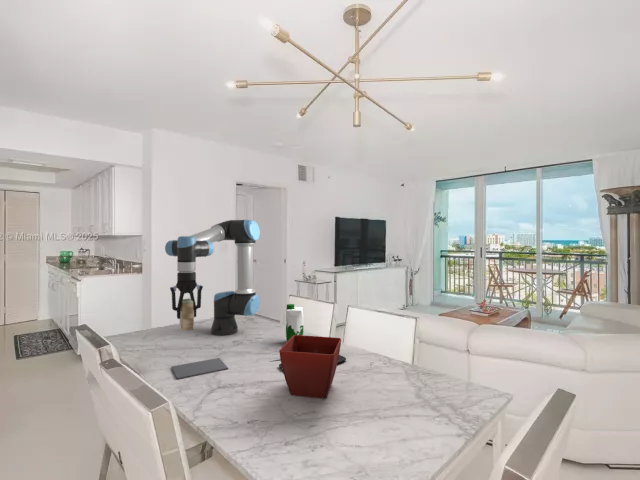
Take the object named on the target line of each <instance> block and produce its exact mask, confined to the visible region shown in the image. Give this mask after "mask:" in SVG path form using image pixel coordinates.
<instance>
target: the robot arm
mask: <svg viewBox="0 0 640 480" xmlns="http://www.w3.org/2000/svg"><path fill="white" fill-rule="evenodd" d="M260 235H261V232H260V227H259V225H258V223H257V222H256V221H255V220H253V219H230V220H225V221H222V222H220V223H215V224H214V225H211V226H210V228H208V229H205V230H203V231H200V232H198V233H195V234H191V235H188V236H186V235H185V236H182V235H181V236H178V237H177V239H176V240H175V239H173V240H168V241H167V242H166V243H165V246H164V249H165V251H164V252H165V253H166V254H167V256H170V257H177V260H176V261H177V262H176V263H177V270H176V271H177V275H176V276H177V278H176V279H177V281H176V285H173V286H171V287H170V288H169V289H170V291H171V292H170V293H171V307H172V310H173V311H176V318H177V320H179V328H181V327H182V311H181V306H182V301H183V299H184V295H185V294H189V298H190V299H191V300H192V301H193V326H194V325H195V318H197V310H198V309H201V306H202V290H203V288H204V286H203V285H202V284H198V283H197V281H196V280H197V274H196V265H197V263H196V262H197V258H202V257H209V256H211V255H213V253H214V252H215V251H214V250H215V245H214V243H215V242H218V243H219V242H222V241H234V245H235V246H236V247H237V253H236V254H237V268H236V269H237V289H236V290H235V291H234V290H228V291H221V292H217V293H215V294H214V296H213V321H212V325H211V328H210V334H212V335H215V336H228V335H233V334H236V333H237V332H238V331H239V327H238V324H237V322H236V317H235V316H245V317H250V316H251V317H253V316H254V315H256V314H257V312H258V310H259V308H260V304H261V300H260V297H259V296H258V295H257V294H256V293H257V291H256V290H255V289H254V246H255V245H256V244H257V243H256V242H257V241H258V240H259V238H260ZM195 289H196V290H197V295H196V296H197V297H196V300H195V296H194V290H195ZM177 290H178V291H179V296H178V302H177V300H176V292H177Z"/></svg>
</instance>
